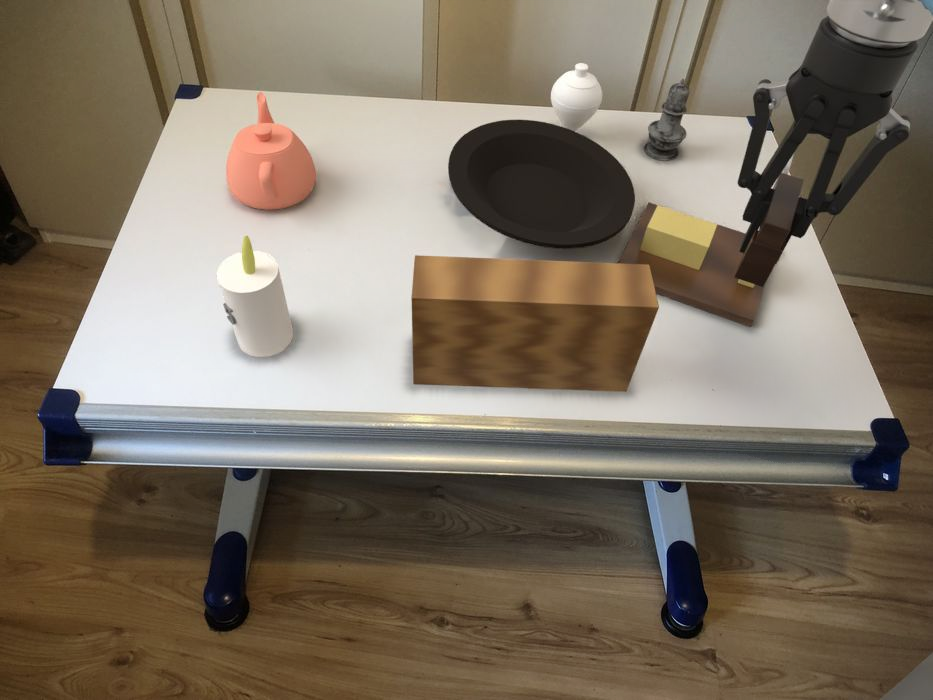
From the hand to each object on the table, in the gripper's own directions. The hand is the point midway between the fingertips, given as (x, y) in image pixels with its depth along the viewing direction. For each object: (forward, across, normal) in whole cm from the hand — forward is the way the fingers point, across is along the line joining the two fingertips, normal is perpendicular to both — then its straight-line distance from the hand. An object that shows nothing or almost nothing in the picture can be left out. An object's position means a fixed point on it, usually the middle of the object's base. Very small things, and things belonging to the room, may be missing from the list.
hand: (760, 249), depth 72 cm
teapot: (+14, -64, -2) cm, 65 cm away
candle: (+14, -48, -26) cm, 56 cm away
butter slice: (+13, +1, +12) cm, 17 cm away
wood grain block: (+14, -19, -16) cm, 29 cm away
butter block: (+13, -9, +12) cm, 19 cm away
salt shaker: (+14, -17, +35) cm, 41 cm away
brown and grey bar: (+1, 0, +7) cm, 7 cm away
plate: (+14, -29, +12) cm, 34 cm away
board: (+14, -6, +12) cm, 19 cm away
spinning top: (+14, -31, +30) cm, 45 cm away
